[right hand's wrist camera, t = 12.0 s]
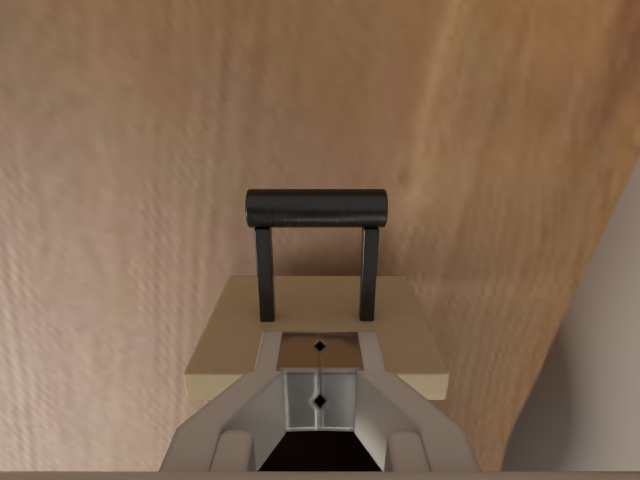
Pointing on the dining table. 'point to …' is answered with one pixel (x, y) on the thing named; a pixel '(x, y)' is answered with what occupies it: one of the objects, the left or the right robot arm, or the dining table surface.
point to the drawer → (316, 318)
